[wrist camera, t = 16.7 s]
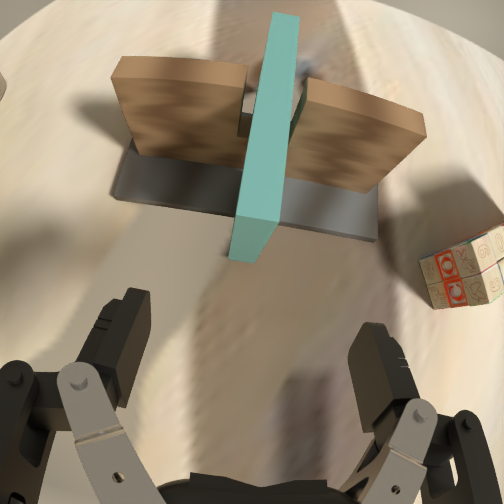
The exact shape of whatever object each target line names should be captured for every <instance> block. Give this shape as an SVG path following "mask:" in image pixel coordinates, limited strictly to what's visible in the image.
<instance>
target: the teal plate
mask: <svg viewBox="0 0 504 504" xmlns="http://www.w3.org/2000/svg"><path fill="white" fill-rule="evenodd" d="M299 19H300V17H297V16H292V15H287V14H282V13H277V12H273V15H272V20H271V25H270V29H269V34H268V39H267V44H266V49H265V54H264V59H263V64H262V69H261V74H260V79H259V84H258V89H257V94H256V100H255V105H254V111H253V116H252V123H251V128H250V134H249V139H248V145H247V151H246V156H245V161H244V167H243V172H242V178H241V184H240V189H239V195H238V201H237V207H236V213H235V219H234V225H233V231H232V238H231V244H230V250H229V256H228V259H229V260H236V261H242V262H248V263H255V261H256V260H257V258H258V256H259V255H260V253H261V251H262V250H263V248H264V246H265V245H266V243H267V241H268V240H269V238H270V237H271V235H272V233H273V232H274V230H275V228H276V227H277V225H278V223H279V219H280V211H281V202H282V193H283V185H284V176H285V166H286V157H287V148H288V138H289V129H290V119H291V109H292V98H293V88H294V77H295V66H296V55H297V44H298V32H299Z"/></svg>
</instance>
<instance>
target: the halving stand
mask: <svg viewBox="0 0 504 504" xmlns="http://www.w3.org/2000/svg"><path fill="white" fill-rule="evenodd" d="M247 71H248V65H241V64H234V63H227V62H218V61H209V60H199V59H188V58H173V57H149V56H122V57H121V59H120V61H119V63H118V64H117V66H116V68H115V70H114V72H113V74H112V75H111V77H110V78H111V81H112V83H113V86H114V89H115V92H116V94H117V97H118V100H119V103H120V105H121V108H122V111H123V113H124V116H125V119H126V121H127V124H128V127H129V129H130V132H131V134H132V140H131V143H130V146H129V149H128V152H127V154H126V157H125V160H124V163H123V166H122V170H121V173H120V176H119V179H118V182H117V186H116V189H115V192H114V197H115V198H116V200H120V201H127V202H135V203H142V204H149V205H156V206H163V207H169V208H176V209H183V210H190V211H196V212H202V213H209V214H215V215H222V216H228V217H234V218H235V213H236V207H237V201H238V195H239V189H240V184H241V178H242V172H243V167H244V161H245V156H246V151H247V145H248V139H249V134H250V128H251V123H252V116H253V114H250V113H244V112H242V106H243V99H244V92H245V85H246V78H247ZM426 137H427V135H426V129H425V123H424V118H423V114H422V113H420V112H417V111H415V110H412V109H410V108H407V107H404V106H402V105H399V104H396V103H394V102H391V101H388V100H385V99H382V98H379V97H376V96H373V95H370V94H367V93H364V92H361V91H357V90H354V89H351V88H347V87H344V86H340V85H336V84H333V83H329V82H325V81H321V80H317V79H313V78H309V77H308V79H307V81H306V84H305V87H304V89H303V92H302V95H301V97H300V100H299V103H298V105H297V108H296V111H295V113H294V116H293V119H292V121H290V129H289V138H288V148H287V157H286V166H285V176H284V185H283V193H282V202H281V211H280V219H279V223H278V225H281V226H287V227H292V228H298V229H304V230H309V231H315V232H320V233H326V234H331V235H336V236H342V237H347V238H352V239H357V240H363V241H368V242H374V241H376V240H378V183H379V182H380V181H381V180H382V179H383V178H384V177H385V176H386V175H387V174H388V173H389V172H390V171H391V170H393V169H394V168H395V167H396V166H397V165H398V164H399V163H400V162H401V161H402V160H403V159H404V158H405V157H406V156H407V155H408V154H410V153H411V152H412V151H413V150H414V149H415V148H416V147H417V146H418V145H419V144H420V143H421V142H422V141H423V140H424V139H425V138H426Z"/></svg>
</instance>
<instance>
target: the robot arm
mask: <svg viewBox="0 0 504 504" xmlns="http://www.w3.org/2000/svg"><path fill="white" fill-rule="evenodd" d="M5 89H6V81H5V79H4V78H3V76H2V74H1V73H0V100H1V98H2V96H3V94H4V92H5ZM150 330H151V305H150V292H149V291H146V290H141V289H136V288H128V290H127V292H126V294H125V296H124V298H123V300H118V299H113V300H111V301H110V302H109V303H108V304H106V305H105V306H104V307H103V309H102V311H101V312H100V315H99V317H98V319H97V320H96V322H95V324H94V327H93V328H92V330H91V332H90V334H89V335H88V338H87V340H86V341H85V343H84V346H83V347H82V350H81V351H80V354H79V356H78V358H77V359H76V361H75V362H73V363H70V364H68V365H66V366H65V367H63V368H62V370H61V371H59V372H34V371H33V370H32V368H31V366H30V365H29V364H28V363H26V362H24V361H20V360H14V361H10V362H8V363H6V364H5V365H4V366H3V367H2V368H1V369H0V504H37V503H38V499H39V495H40V490H41V486H42V482H43V478H44V474H45V470H46V466H47V462H48V458H49V455H50V451H51V448H52V444H53V440H54V437H55V434H56V431H72V432H73V435H74V438H75V447H76V450H77V453H78V455H79V458H80V460H81V462H82V465H83V467H84V470H85V472H86V474H87V476H88V479H89V481H90V483H91V485H92V487H93V489H94V491H95V494H96V495H97V498H98V500H99V502H100V504H413V503H414V501H415V499H416V496H417V494H418V492H419V490H421V497H422V504H503V503H502V498H501V493H500V489H499V485H498V481H497V477H496V473H495V469H494V465H493V462H492V458H491V455H490V451H489V448H488V444H487V441H486V438H485V435H484V432H483V429H482V426H481V423H480V420H479V419H478V417H477V416H476V415H475V414H474V413H473V412H471V411H468V410H461V411H459V412H458V413H457V414H456V415H455V416H454V417H449V416H445V415H441V414H437V412H436V410H435V408H434V407H433V406H432V405H431V404H430V403H429V402H428V401H426V400H423V399H421V398H420V396H419V393H418V390H417V387H416V385H415V382H414V379H413V376H412V374H411V371H410V368H408V363H407V360H405V355H404V353H403V350H402V348H401V346H400V345H399V344H398V342H397V341H396V340H395V339H394V338H393V337H390V336H389V334H388V331H387V329H386V326H385V325H384V324H382V323H371V322H365V323H364V324H363V325H362V327H361V329H360V331H359V332H358V334H357V336H356V338H355V340H354V342H353V344H352V345H351V347H350V350H349V353H348V365H349V369H350V374H351V378H352V383H353V387H354V392H355V396H356V401H357V405H358V410H359V415H360V420H361V425H362V430H363V433H369V432H374V435H375V438H374V439H373V440H372V441H371V443H370V444H369V446H368V448H367V450H366V451H365V453H364V455H363V457H362V458H361V460H360V462H359V463H358V465H357V466H356V468H355V470H354V471H353V473H352V474H351V476H350V477H349V478H348V480H347V481H346V482H345V483H344V484H343V485H342V486H341V487H340V489H339V490H337V489H333V488H330V487H327V480H295V481H290V482H286V483H281V484H277V485H272V486H267V487H257V486H253V485H250V484H246V483H243V482H240V481H237V480H233V479H230V478H227V477H222V476H213V475H206V474H198V473H192V472H190V479H181V480H176V481H171V482H168V483H165V484H163V485H160V486H158V487H155V485H154V483H153V482H152V480H151V478H150V477H149V475H148V473H147V471H146V470H145V468H144V466H143V464H142V463H141V461H140V459H139V457H138V455H137V453H136V452H135V450H134V448H133V446H132V444H131V442H130V440H129V438H128V436H127V434H126V432H125V431H124V429H123V427H122V426H121V424H120V422H119V420H118V418H117V416H116V414H115V411H116V408H117V406H118V407H122V408H126V406H127V402H128V399H129V396H130V393H131V390H132V387H133V384H134V380H135V377H136V374H137V371H138V368H139V365H140V362H141V359H142V356H143V353H144V350H145V347H146V344H147V341H148V338H149V335H150ZM453 457H454V461H455V465H456V470H457V474H458V482H457V485H456V486H455V484H454V479H453V474H452V470H451V465H450V461H449V460H450V459H452V458H453Z"/></svg>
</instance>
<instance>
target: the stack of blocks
mask: <svg viewBox="0 0 504 504" xmlns="http://www.w3.org/2000/svg"><path fill="white" fill-rule="evenodd" d="M419 263H420V266H421V269H422V272H423V275H424V278H425V281H426V284H427V289H428V292H429V295H430V298H431V302H432V305H433V308H434V310H436V309H444V308H450V307H451V308H455V307H462V306H468V305H469V306H477V305H483V304H489V303H491V302H492V301H494V300H495V299H496V298H498V297H499V296H500V295H502V294H503V293H504V222H502V223H500V224H498V225H495V226H493V227H491V228H489V229H487V230H484V231H482V232H480V233H478V235H476V236H474V237H471V238H469V239H467V240H465V241H462V242H460V243H457V244H455V245H452V246H450V247H447V248H445V249H443V250H440V251H438V252H436V253H435V254H432V255H430V256H428V257H425V258H423V259H421V260H419Z"/></svg>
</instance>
